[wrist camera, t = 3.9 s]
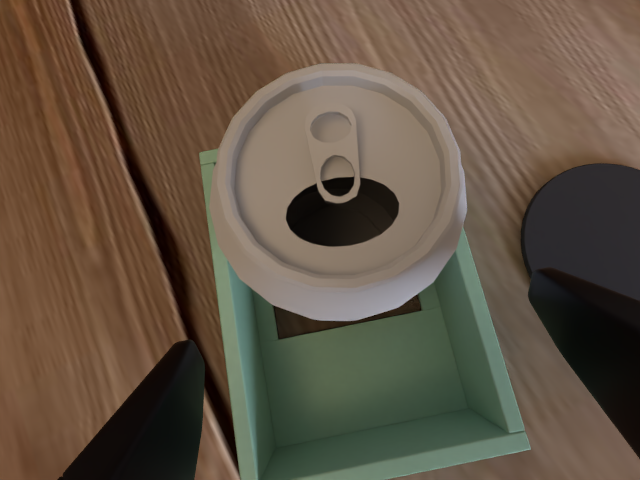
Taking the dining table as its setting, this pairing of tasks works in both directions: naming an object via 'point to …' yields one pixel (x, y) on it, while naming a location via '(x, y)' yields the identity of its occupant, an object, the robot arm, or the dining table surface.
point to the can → (338, 192)
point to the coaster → (587, 226)
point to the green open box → (366, 382)
